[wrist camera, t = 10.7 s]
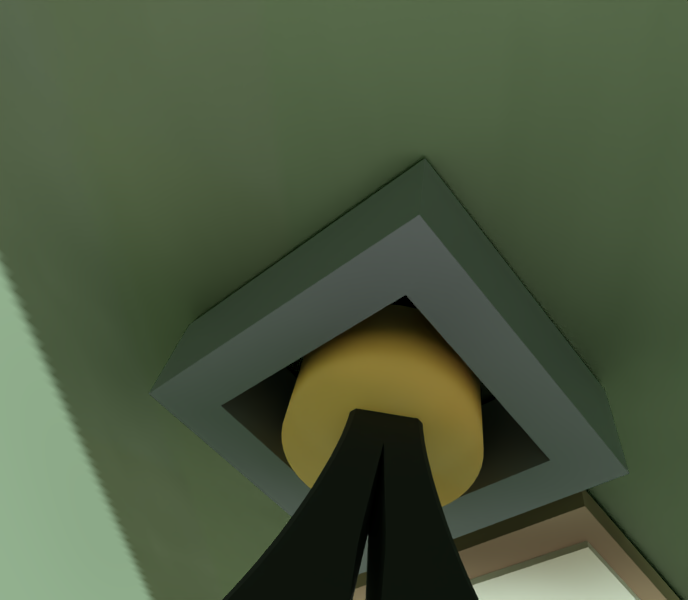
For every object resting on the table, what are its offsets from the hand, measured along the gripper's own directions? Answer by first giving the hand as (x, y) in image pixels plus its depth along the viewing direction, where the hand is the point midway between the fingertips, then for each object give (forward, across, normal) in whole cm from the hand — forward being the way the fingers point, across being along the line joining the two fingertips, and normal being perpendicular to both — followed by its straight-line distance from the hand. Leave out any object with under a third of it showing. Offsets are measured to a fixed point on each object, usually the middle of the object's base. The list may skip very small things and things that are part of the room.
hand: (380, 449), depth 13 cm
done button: (+2, 0, 0) cm, 2 cm away
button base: (+3, 0, 0) cm, 3 cm away
